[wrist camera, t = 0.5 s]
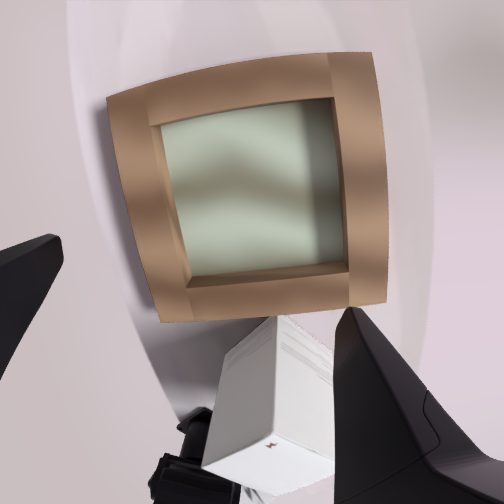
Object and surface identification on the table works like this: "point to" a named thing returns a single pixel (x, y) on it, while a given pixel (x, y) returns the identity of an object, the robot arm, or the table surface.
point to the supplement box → (274, 411)
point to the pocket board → (257, 186)
